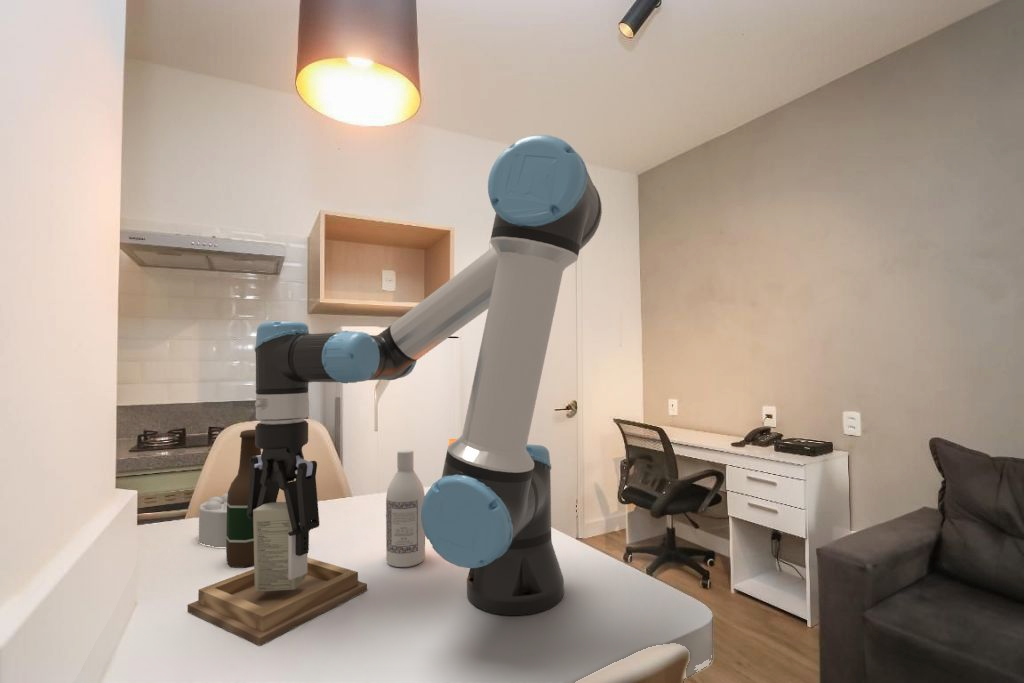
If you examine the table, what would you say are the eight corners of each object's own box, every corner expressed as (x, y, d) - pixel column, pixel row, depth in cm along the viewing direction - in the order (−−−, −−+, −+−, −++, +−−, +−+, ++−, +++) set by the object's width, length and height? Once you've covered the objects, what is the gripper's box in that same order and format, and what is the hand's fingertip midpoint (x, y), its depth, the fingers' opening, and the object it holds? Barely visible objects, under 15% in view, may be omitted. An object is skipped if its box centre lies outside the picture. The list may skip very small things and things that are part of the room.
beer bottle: (216, 563, 90) (218, 432, 92) (255, 549, 97) (256, 427, 99) (243, 571, 87) (244, 434, 88) (281, 556, 94) (282, 428, 95)
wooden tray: (367, 590, 79) (367, 571, 79) (259, 645, 63) (259, 621, 64) (296, 567, 88) (296, 550, 88) (187, 611, 73) (187, 590, 73)
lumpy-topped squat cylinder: (224, 550, 97) (224, 506, 98) (184, 541, 103) (185, 499, 103) (270, 534, 106) (271, 493, 107) (232, 526, 112) (232, 487, 113)
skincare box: (306, 578, 78) (306, 500, 79) (295, 591, 74) (295, 508, 74) (265, 579, 78) (265, 501, 78) (251, 592, 73) (252, 509, 74)
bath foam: (402, 551, 95) (401, 446, 96) (432, 556, 92) (431, 448, 93) (378, 564, 89) (378, 452, 90) (410, 570, 86) (409, 455, 87)
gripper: (222, 420, 79) (220, 566, 78) (302, 426, 69) (301, 595, 68) (266, 416, 86) (265, 550, 84) (345, 421, 75) (345, 574, 74)
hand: (281, 570), depth 76 cm, fingers closed on skincare box, 7 cm apart
